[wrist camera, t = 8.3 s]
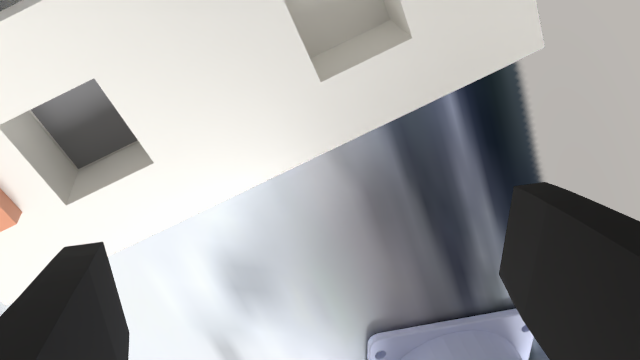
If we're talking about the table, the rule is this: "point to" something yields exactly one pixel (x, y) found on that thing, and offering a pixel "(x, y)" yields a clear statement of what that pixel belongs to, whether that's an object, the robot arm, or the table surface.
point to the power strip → (208, 102)
